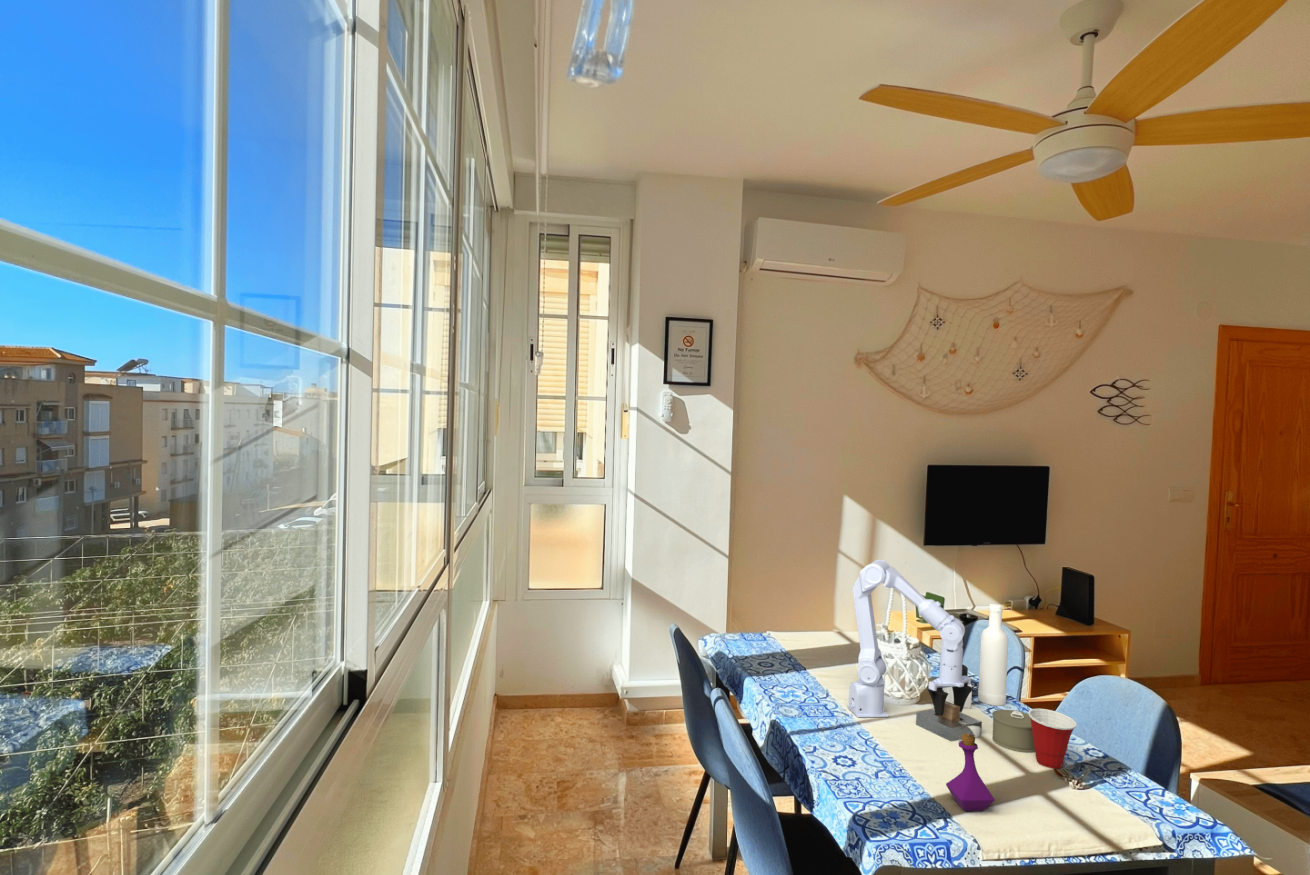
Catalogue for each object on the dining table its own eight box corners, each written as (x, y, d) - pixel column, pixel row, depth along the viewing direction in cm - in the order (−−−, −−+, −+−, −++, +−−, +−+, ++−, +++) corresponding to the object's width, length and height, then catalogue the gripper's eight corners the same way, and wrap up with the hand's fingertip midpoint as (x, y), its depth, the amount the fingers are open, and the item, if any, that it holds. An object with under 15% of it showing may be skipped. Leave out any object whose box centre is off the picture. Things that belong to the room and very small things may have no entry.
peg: (951, 733, 204) (952, 707, 204) (938, 727, 208) (939, 702, 208) (959, 732, 206) (960, 706, 206) (945, 726, 210) (946, 700, 210)
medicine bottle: (963, 700, 231) (965, 661, 231) (971, 708, 224) (973, 669, 224) (940, 698, 232) (941, 660, 232) (946, 707, 225) (948, 667, 224)
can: (990, 746, 197) (992, 720, 197) (992, 731, 208) (993, 706, 208) (1042, 757, 192) (1043, 730, 192) (1040, 740, 202) (1041, 715, 202)
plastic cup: (1056, 777, 180) (1058, 727, 180) (1016, 758, 190) (1018, 711, 190) (1084, 769, 185) (1086, 721, 185) (1044, 751, 195) (1046, 706, 195)
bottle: (1010, 706, 227) (1014, 608, 227) (984, 705, 227) (988, 607, 227) (998, 697, 235) (1003, 602, 235) (973, 696, 235) (977, 601, 235)
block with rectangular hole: (950, 741, 199) (951, 727, 199) (915, 724, 210) (916, 711, 210) (981, 734, 205) (981, 720, 205) (945, 718, 215) (946, 705, 215)
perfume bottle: (944, 798, 168) (948, 718, 167) (976, 797, 168) (980, 718, 168) (961, 815, 160) (964, 732, 160) (994, 815, 161) (998, 732, 161)
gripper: (944, 671, 200) (941, 721, 200) (981, 665, 207) (978, 714, 207) (923, 663, 206) (921, 712, 207) (960, 657, 213) (957, 705, 213)
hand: (948, 712), depth 207 cm, fingers open, 7 cm apart
